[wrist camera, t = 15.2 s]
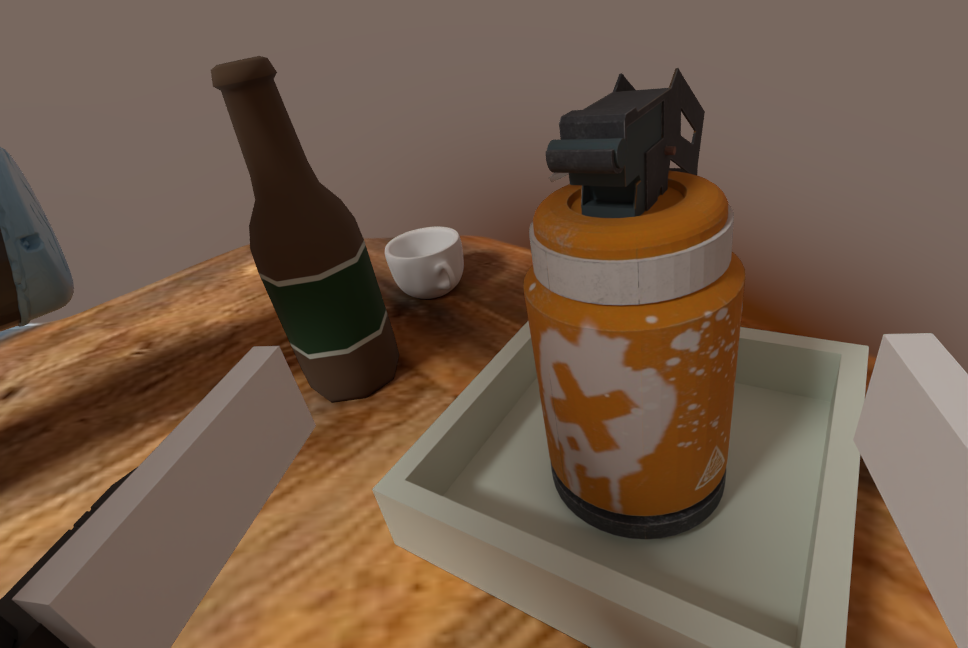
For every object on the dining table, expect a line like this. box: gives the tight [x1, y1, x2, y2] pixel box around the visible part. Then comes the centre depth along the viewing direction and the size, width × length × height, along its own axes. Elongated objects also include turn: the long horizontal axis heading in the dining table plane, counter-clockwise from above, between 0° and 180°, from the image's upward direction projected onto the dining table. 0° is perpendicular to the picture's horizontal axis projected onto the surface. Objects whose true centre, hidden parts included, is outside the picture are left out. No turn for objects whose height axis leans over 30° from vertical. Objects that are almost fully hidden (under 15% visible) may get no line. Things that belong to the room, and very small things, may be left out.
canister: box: [523, 68, 745, 540], centre depth 24 cm, size 9×11×20 cm
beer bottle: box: [211, 56, 399, 402], centre depth 38 cm, size 8×8×24 cm
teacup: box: [385, 227, 464, 299], centre depth 53 cm, size 10×8×5 cm
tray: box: [372, 321, 869, 648], centre depth 29 cm, size 20×20×4 cm
